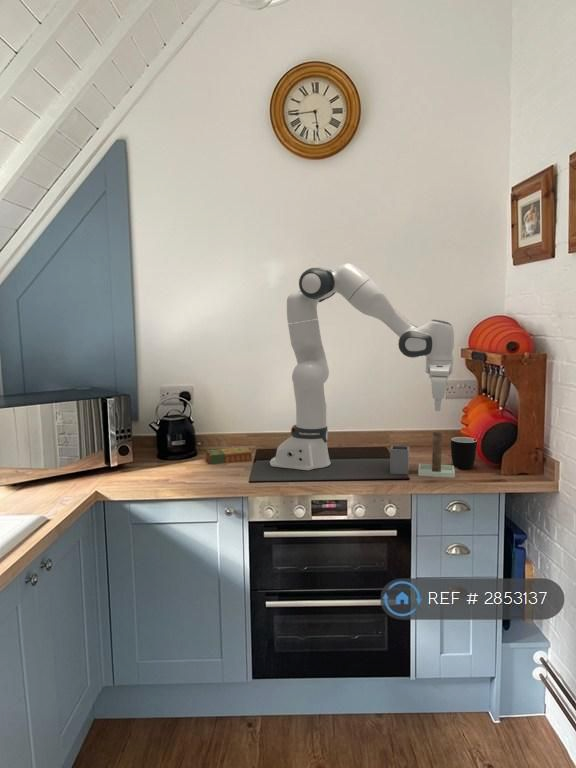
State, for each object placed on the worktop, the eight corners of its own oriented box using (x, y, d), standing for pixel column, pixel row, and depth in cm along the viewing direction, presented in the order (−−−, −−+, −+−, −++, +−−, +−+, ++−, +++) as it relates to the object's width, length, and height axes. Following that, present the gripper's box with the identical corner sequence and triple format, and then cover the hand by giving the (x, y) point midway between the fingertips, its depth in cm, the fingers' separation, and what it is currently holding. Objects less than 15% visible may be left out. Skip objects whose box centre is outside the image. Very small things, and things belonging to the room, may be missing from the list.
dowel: (431, 473, 207) (432, 433, 205) (431, 471, 209) (432, 431, 208) (440, 474, 206) (441, 434, 204) (440, 471, 209) (441, 432, 207)
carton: (251, 461, 228) (251, 450, 227) (210, 465, 223) (209, 454, 223) (246, 456, 236) (246, 446, 235) (205, 460, 231) (205, 449, 230)
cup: (389, 475, 207) (390, 449, 206) (391, 470, 213) (391, 445, 212) (408, 476, 206) (408, 450, 205) (408, 471, 212) (409, 446, 211)
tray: (418, 477, 204) (418, 471, 204) (418, 469, 214) (418, 463, 214) (454, 479, 202) (455, 473, 201) (453, 471, 211) (453, 465, 211)
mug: (480, 470, 213) (481, 442, 211) (455, 470, 212) (456, 442, 211) (466, 461, 225) (467, 434, 223) (443, 462, 224) (444, 435, 222)
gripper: (429, 364, 214) (427, 403, 216) (429, 370, 194) (427, 413, 196) (447, 365, 212) (446, 404, 214) (449, 371, 193) (447, 414, 194)
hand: (437, 408), depth 205 cm, fingers open, 8 cm apart
